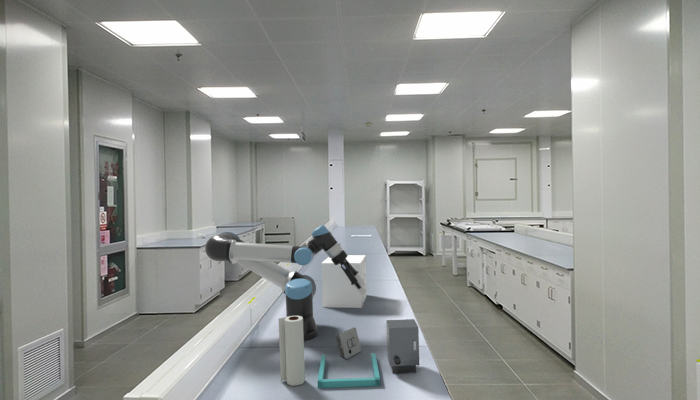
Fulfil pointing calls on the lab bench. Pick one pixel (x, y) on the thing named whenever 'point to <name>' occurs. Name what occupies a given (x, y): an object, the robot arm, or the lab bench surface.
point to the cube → (342, 283)
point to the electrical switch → (348, 343)
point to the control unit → (403, 345)
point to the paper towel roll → (292, 350)
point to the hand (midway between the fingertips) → (364, 289)
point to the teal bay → (350, 381)
